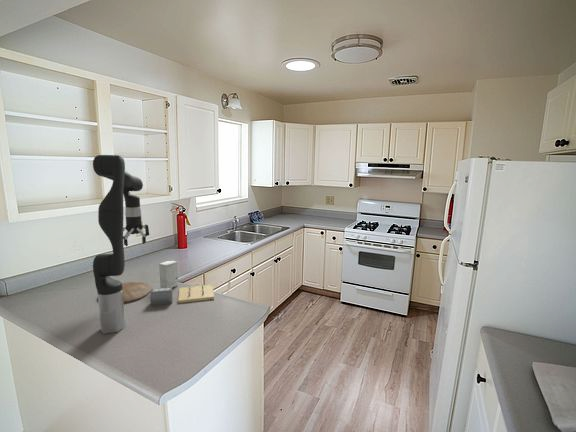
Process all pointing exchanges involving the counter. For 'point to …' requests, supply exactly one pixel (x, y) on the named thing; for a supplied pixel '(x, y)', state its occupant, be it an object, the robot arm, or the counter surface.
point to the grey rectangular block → (161, 296)
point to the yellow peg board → (195, 293)
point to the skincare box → (168, 274)
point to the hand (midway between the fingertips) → (135, 244)
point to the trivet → (135, 291)
